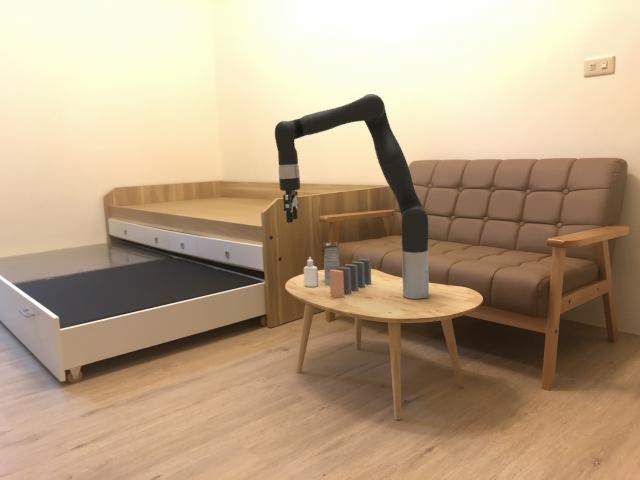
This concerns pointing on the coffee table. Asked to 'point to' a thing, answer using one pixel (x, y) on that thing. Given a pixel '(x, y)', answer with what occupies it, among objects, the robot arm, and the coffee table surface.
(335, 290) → the domino
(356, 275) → the domino
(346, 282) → the domino
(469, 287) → the coffee table surface
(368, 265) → the domino
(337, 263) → the coffee box
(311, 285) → the eye dropper bottle
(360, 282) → the domino
